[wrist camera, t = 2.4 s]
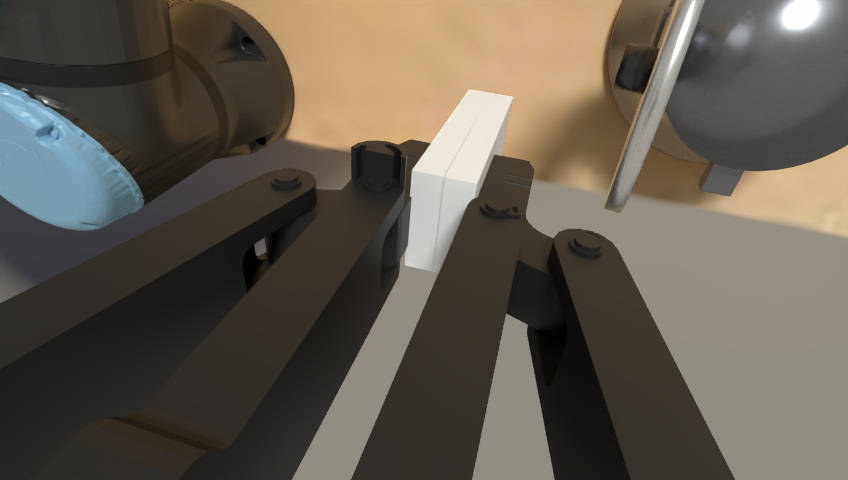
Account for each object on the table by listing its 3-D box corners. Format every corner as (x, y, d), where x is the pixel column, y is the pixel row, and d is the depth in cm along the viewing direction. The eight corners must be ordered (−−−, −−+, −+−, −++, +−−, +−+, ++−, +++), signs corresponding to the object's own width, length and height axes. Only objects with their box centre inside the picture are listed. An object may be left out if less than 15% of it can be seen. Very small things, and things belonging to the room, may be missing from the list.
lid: (634, 155, 33) (598, 146, 34) (720, -76, 25) (671, -81, 26) (607, 262, 22) (555, 245, 23) (745, -87, 14) (659, -94, 15)
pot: (580, 138, 42) (580, 180, 35) (659, -129, 31) (682, -145, 24) (812, 180, 39) (863, 235, 32) (993, -102, 28) (1129, -112, 21)
